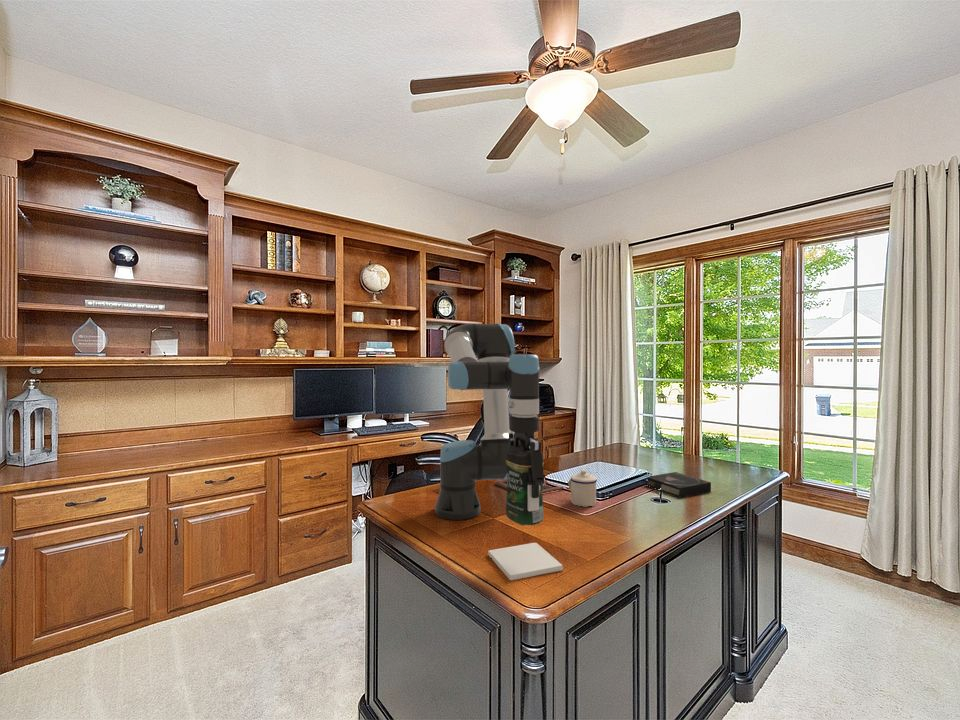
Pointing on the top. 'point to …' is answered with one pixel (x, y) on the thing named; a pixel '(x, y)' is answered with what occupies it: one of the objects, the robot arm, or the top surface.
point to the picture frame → (544, 488)
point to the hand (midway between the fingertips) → (524, 503)
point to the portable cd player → (679, 484)
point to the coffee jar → (520, 488)
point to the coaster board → (524, 561)
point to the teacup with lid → (583, 489)
